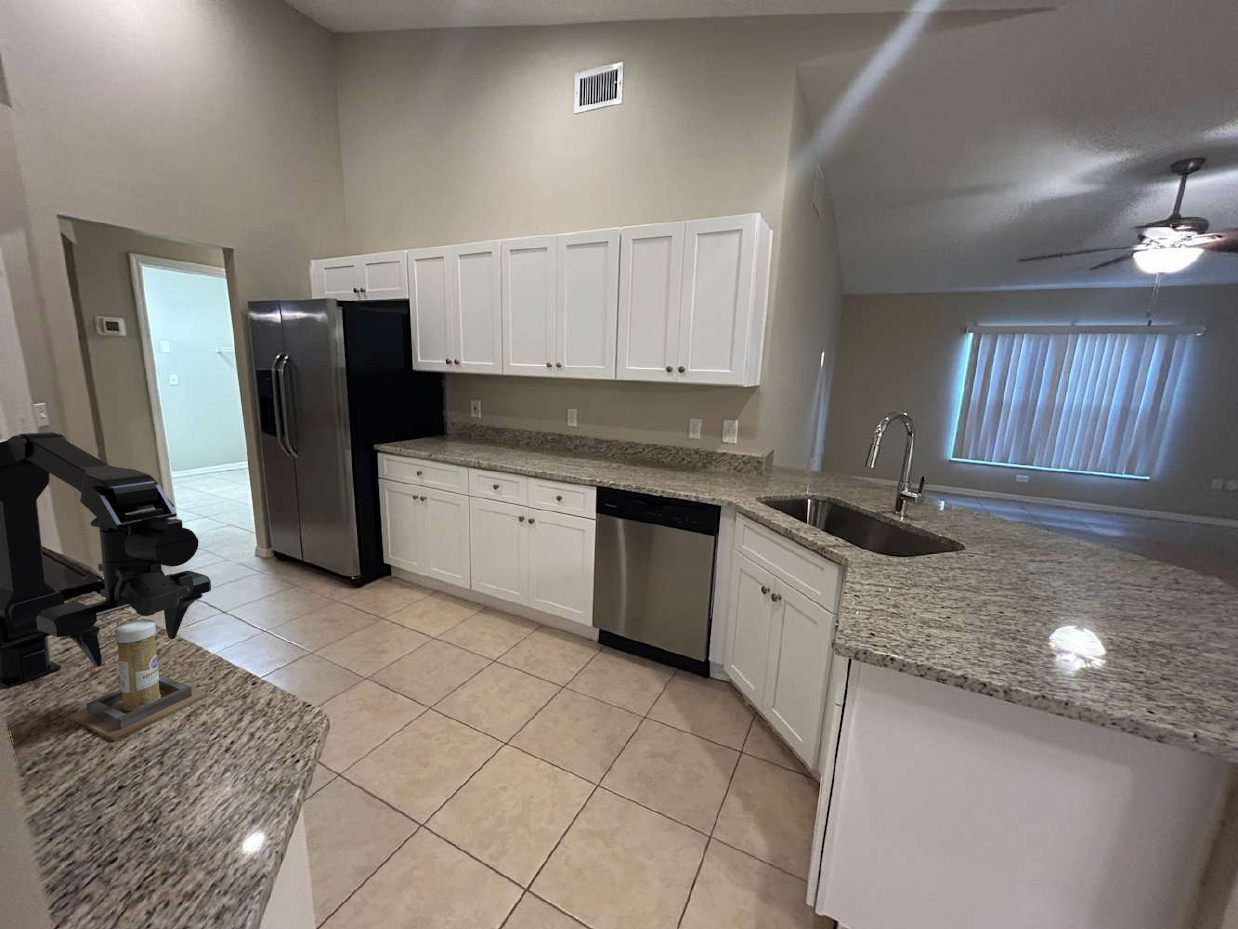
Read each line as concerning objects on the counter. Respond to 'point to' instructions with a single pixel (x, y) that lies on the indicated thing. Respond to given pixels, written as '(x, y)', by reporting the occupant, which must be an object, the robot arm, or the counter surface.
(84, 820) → the counter surface
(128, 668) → the sprinkles bottle
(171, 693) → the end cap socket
